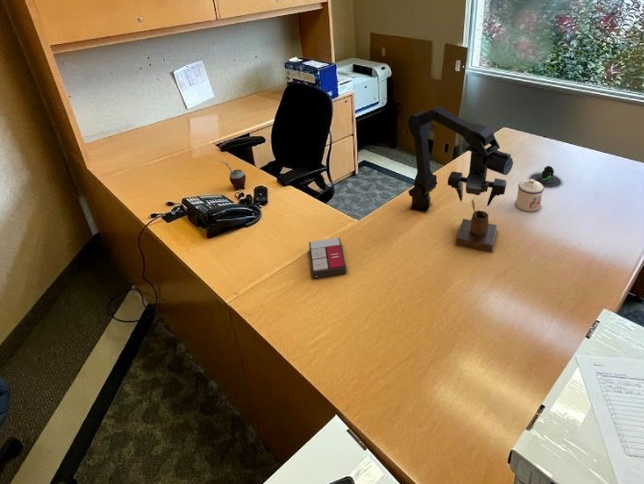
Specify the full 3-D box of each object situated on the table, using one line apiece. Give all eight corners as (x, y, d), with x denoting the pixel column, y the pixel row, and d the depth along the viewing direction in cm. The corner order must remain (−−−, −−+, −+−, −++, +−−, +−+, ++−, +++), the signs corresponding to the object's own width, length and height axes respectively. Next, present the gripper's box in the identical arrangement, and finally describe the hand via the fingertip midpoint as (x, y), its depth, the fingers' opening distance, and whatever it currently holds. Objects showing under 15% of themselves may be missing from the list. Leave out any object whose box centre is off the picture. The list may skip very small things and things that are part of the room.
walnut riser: (456, 244, 145) (456, 237, 143) (462, 225, 154) (463, 218, 153) (491, 252, 140) (492, 245, 139) (496, 231, 150) (497, 224, 148)
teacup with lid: (531, 215, 157) (536, 188, 151) (510, 205, 163) (514, 179, 157) (549, 203, 163) (554, 177, 157) (528, 193, 169) (532, 169, 163)
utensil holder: (485, 238, 142) (488, 209, 136) (466, 232, 145) (469, 204, 139) (489, 228, 146) (493, 200, 140) (472, 223, 149) (474, 196, 144)
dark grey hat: (565, 186, 172) (571, 161, 166) (536, 188, 173) (541, 162, 167) (553, 172, 182) (558, 148, 177) (526, 173, 183) (530, 149, 177)
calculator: (311, 271, 132) (308, 240, 145) (313, 280, 135) (309, 249, 147) (345, 265, 134) (339, 235, 146) (346, 275, 136) (340, 244, 148)
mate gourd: (250, 185, 189) (244, 156, 182) (238, 193, 184) (231, 164, 176) (239, 181, 193) (232, 153, 186) (226, 189, 187) (219, 160, 180)
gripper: (445, 171, 135) (442, 210, 142) (505, 181, 127) (499, 221, 135) (452, 156, 143) (449, 193, 151) (509, 164, 136) (503, 203, 144)
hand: (474, 203), depth 145 cm, fingers open, 9 cm apart
